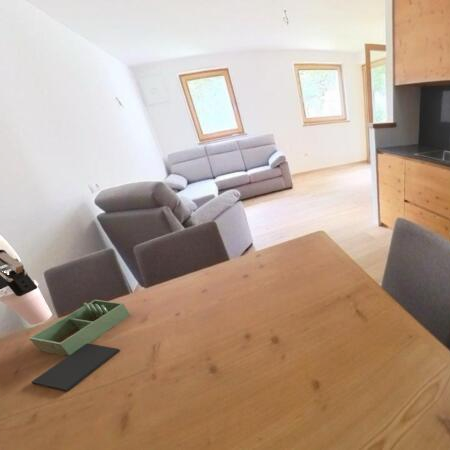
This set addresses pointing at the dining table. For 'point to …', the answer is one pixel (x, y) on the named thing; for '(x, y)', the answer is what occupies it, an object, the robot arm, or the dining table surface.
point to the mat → (75, 367)
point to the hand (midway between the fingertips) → (16, 290)
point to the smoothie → (27, 304)
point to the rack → (80, 327)
